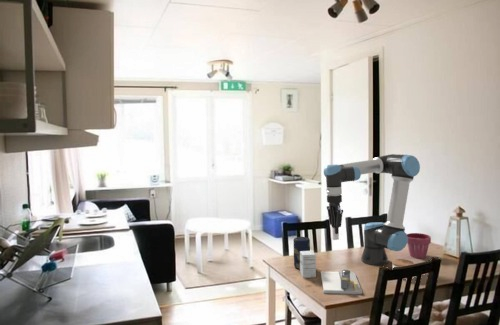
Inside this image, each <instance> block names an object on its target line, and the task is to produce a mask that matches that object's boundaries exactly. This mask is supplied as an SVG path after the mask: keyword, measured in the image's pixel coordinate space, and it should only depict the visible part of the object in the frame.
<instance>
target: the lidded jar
mask: <svg viewBox="0 0 500 325" xmlns="http://www.w3.org/2000/svg"><path fill="white" fill-rule="evenodd" d="M391 263H392V264H391V265H392V269H393V268H394V267H402V266H408V265H413V264H414V265H415V263H414V262H413V261H411V260H409V259H405V258H400V259H399V258H396V259H393V260H392V262H391Z"/></svg>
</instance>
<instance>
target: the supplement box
mask: <svg viewBox="0 0 500 325" xmlns="http://www.w3.org/2000/svg"><path fill="white" fill-rule="evenodd" d="M316 258H317V256H316V253H315V252H314V251H313V250H310V251H300V269H299V274H300V275H301V277H302V279H303V278H304V279H306V278H309V279H310V278H316V277H317V261H316V260H317V259H316Z"/></svg>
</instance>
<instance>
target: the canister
mask: <svg viewBox="0 0 500 325" xmlns="http://www.w3.org/2000/svg"><path fill="white" fill-rule="evenodd" d="M300 251H311V240H310V238H309V237H306V236H297V237H294V238H293V265H294V267H295V268H296V269H299V270H300Z"/></svg>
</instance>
